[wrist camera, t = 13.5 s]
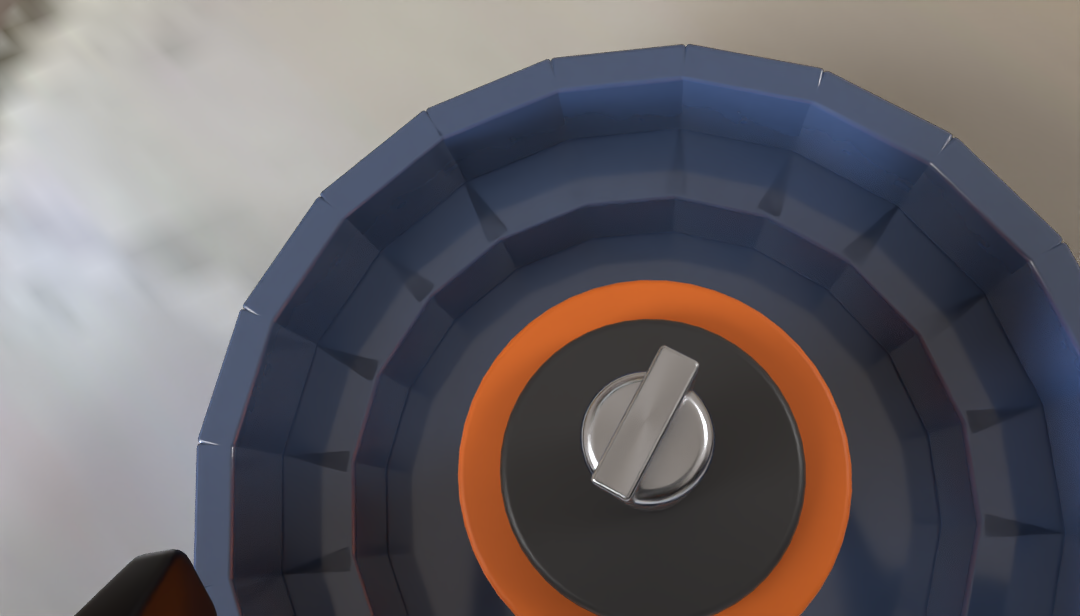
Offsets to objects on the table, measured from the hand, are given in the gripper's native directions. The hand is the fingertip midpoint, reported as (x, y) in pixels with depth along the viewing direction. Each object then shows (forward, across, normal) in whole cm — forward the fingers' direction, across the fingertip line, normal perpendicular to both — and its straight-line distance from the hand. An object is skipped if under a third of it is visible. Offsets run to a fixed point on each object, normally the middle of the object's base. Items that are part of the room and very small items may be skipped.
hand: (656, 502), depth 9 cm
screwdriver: (+6, 0, +6) cm, 8 cm away
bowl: (+6, 0, +6) cm, 9 cm away
